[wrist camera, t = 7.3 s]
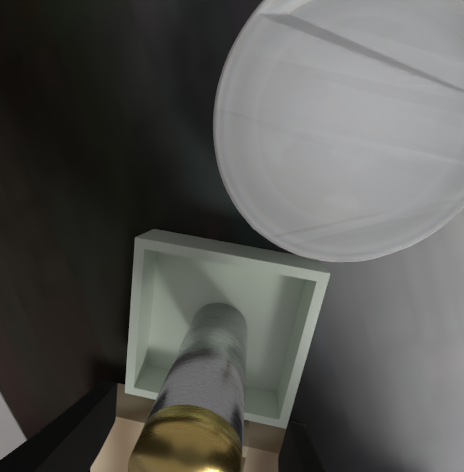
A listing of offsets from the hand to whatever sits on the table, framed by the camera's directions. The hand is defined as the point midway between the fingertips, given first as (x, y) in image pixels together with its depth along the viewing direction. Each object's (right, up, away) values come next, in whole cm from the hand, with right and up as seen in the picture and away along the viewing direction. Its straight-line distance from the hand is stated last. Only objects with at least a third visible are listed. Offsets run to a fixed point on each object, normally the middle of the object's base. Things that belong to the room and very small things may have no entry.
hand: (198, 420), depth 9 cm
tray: (+1, +2, +7) cm, 8 cm away
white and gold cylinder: (0, +1, +7) cm, 7 cm away
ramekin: (+7, +13, +5) cm, 15 cm away
